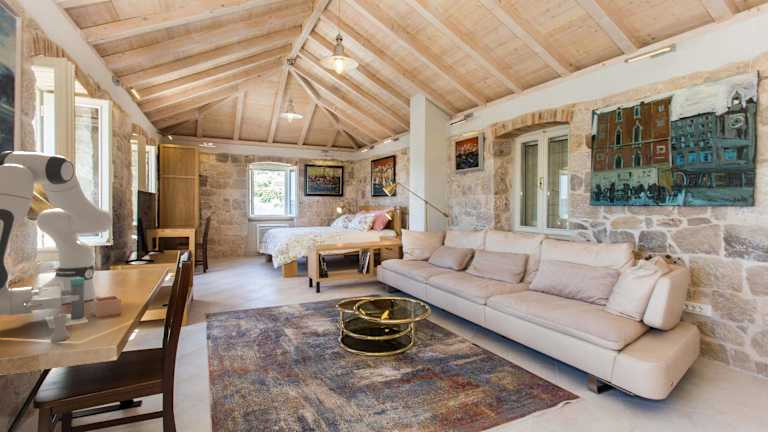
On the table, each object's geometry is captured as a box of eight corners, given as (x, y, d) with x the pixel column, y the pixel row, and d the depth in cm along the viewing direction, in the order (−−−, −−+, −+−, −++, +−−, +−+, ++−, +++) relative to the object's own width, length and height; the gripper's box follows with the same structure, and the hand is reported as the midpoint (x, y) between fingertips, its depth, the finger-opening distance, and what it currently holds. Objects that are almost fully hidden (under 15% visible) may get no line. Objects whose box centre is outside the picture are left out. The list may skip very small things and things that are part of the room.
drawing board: (37, 319, 132) (37, 317, 132) (83, 312, 141) (83, 310, 141) (41, 333, 118) (41, 331, 118) (93, 324, 128) (93, 322, 128)
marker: (67, 319, 131) (67, 279, 130) (77, 316, 134) (77, 277, 134) (77, 319, 130) (77, 279, 130) (87, 316, 134) (87, 277, 134)
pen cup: (93, 314, 139) (93, 298, 139) (116, 310, 144) (116, 295, 144) (96, 318, 134) (96, 302, 134) (120, 314, 139) (120, 298, 139)
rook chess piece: (58, 337, 115) (58, 311, 115) (73, 337, 115) (73, 311, 115) (46, 343, 110) (46, 316, 110) (62, 342, 111) (62, 316, 111)
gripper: (21, 297, 115) (79, 291, 124) (27, 285, 131) (78, 280, 140) (21, 317, 116) (79, 310, 125) (27, 303, 131) (78, 297, 140)
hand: (78, 294), depth 132 cm, fingers open, 8 cm apart
